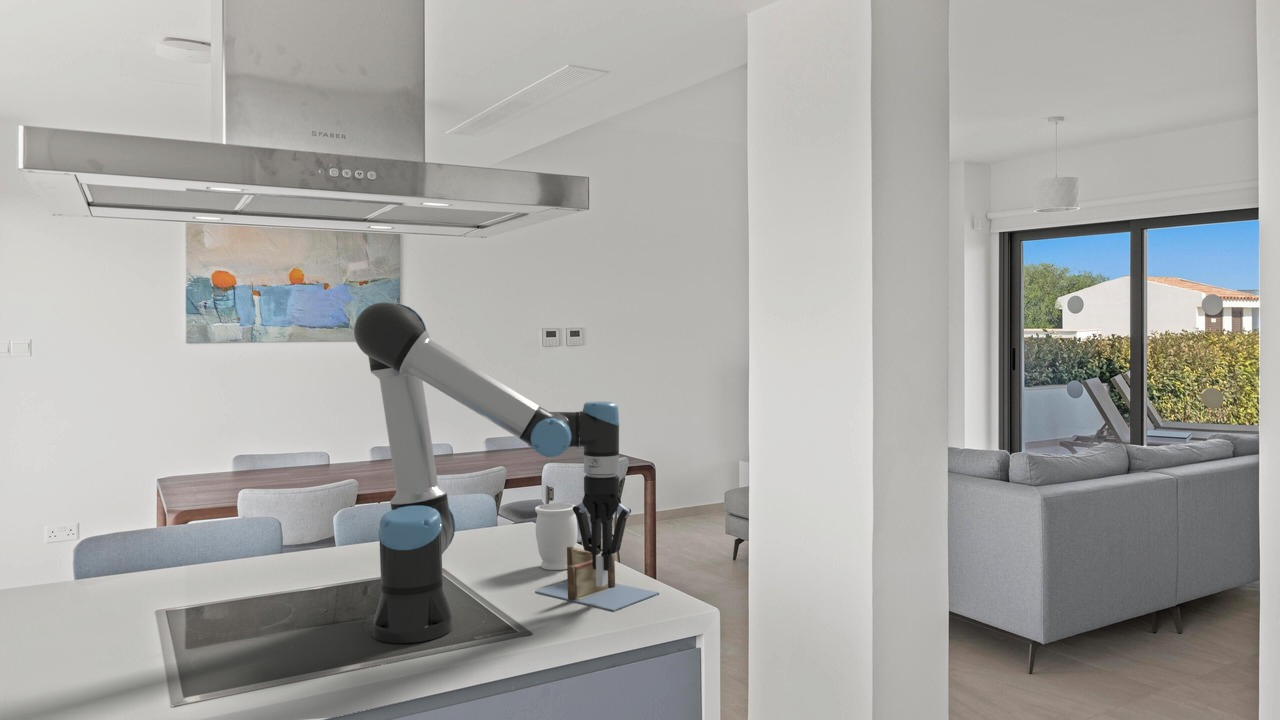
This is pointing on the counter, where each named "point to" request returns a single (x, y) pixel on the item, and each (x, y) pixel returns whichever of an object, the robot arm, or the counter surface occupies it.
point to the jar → (555, 534)
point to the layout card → (602, 595)
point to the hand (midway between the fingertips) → (602, 584)
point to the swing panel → (582, 580)
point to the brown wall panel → (581, 556)
